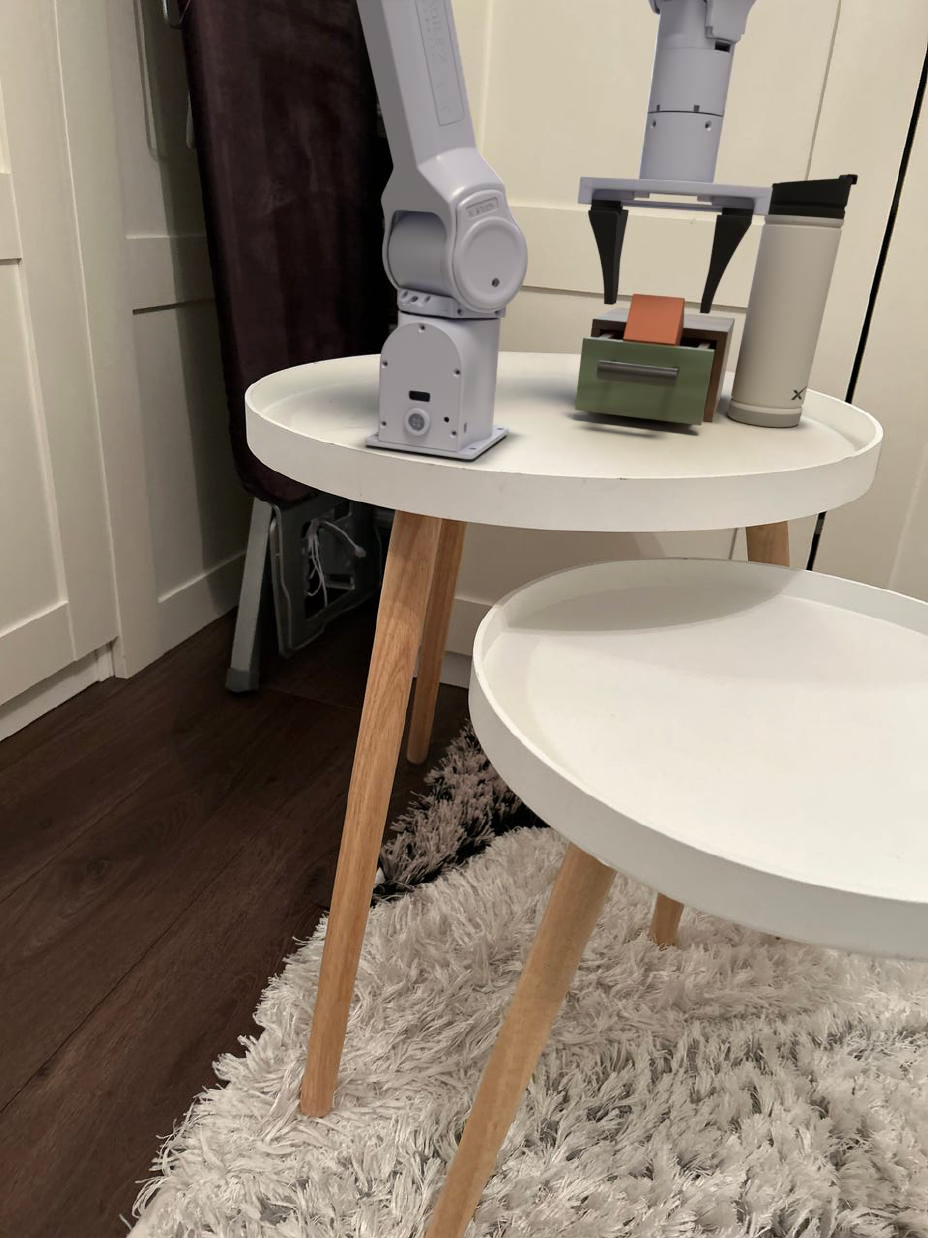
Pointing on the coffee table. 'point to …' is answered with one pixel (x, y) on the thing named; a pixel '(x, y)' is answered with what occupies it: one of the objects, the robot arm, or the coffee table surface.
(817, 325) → the travel mug
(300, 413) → the coffee table surface
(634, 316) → the block
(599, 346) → the drawer
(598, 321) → the cabinet
